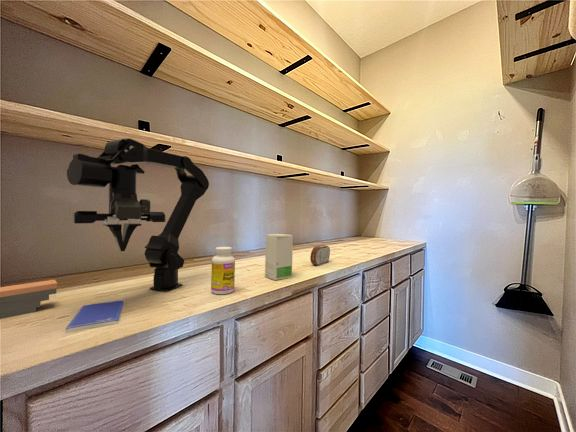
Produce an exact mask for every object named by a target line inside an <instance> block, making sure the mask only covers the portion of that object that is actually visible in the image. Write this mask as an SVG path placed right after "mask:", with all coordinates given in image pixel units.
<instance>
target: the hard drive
mask: <svg viewBox="0 0 576 432" xmlns="http://www.w3.org/2000/svg"><path fill="white" fill-rule="evenodd" d="M124 306H125V300H115V301H108V302H99V303H91V304H84V305H82V306H81V308H80V309H79V310H78V312H77V313H76V314H75V315H74V317H73V318H72V320H70V322H69V324H68V325H67V326H66V328H65V329H64V330H65V334H69V333H75V332H79V331H80V332H81V331H86V330H92V329H97V328H103V327H110V326H115V325H119V322H120V318H121V315H122V313H123V310H124Z"/></svg>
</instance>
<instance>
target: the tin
mask: <svg viewBox="0 0 576 432" xmlns="http://www.w3.org/2000/svg"><path fill="white" fill-rule="evenodd" d="M330 254H331V248H330V247H329V246H328V245H324V244H321V245H317V246H314V247H313V248H312V249H311V252H310V256H309V259H310V263H311V265H315V266H321V265H324V264H327V263H328V261H329V259H330Z"/></svg>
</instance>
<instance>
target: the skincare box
mask: <svg viewBox="0 0 576 432" xmlns="http://www.w3.org/2000/svg"><path fill="white" fill-rule="evenodd" d="M293 238H294V235H293V234H288V233H287V234H286V233H285V234H284V233H268V234H267V233H266V234H265V254H264V255H265V256H264V257H265V260H264V261H265V262H264V267H265V268H264V277H265V278H267V279H269V280H273V281H278V280H285V279H289V278H290V279H291V278H293V246H294V245H293V242H294V241H293Z"/></svg>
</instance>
